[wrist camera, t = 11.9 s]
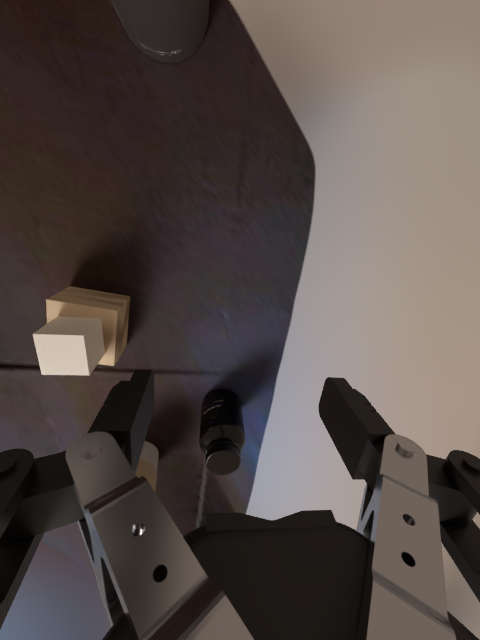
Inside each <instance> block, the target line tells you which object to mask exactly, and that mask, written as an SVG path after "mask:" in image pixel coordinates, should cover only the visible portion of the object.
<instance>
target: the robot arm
mask: <svg viewBox="0 0 480 640" xmlns="http://www.w3.org/2000/svg"><path fill="white" fill-rule="evenodd" d="M111 2H112V4H113V6H114V8H115V10H116V12H117V14H118V16H119V18H120V20H121V22H122V25H123V27H124V28H125V30H126V32H127V34H128V36H129V38H130V39H131V40H132V41H133V43H134V44H135V45H136V47H137V48H139V49H140V50H141V51H142V52H143V53H144V54H145V55H147V56H149V57H150V58H152V59H154V60H157V61H160V62H163V63H175V62H180V61H183V60H184V59H186V58H188V57H190V56H191V55H192V54H193V53H194V52H195V51H196V50H197V49H198V47H199V46H200V44H201V43H202V41H203V38H204V36H205V33H206V30H207V26H208V21H209V0H111ZM153 408H154V371H153V370H135V371H134V374H133V376H132V378H131V380H130V381H120V382H119V383H118V384H117V385H115V386H114V387H113V388H112V389H111V391H110V393H109V395H108V397H107V399H106V400H105V402H104V404H103V406H102V408H101V409H100V411H99V413H98V415H97V417H96V419H95V420H94V422H93V424H92V426H91V428H90V430H89V431H88V433H87V434H85V435H83V436H81V437H79V438H78V439H76V440H75V441H74V442H73V443H71V445H70V446H69V447H68V449H67V450H66V451H63V452H61V453H57V454H53V455H49V456H45V457H40V458H36V459H34V457H33V454H32V453H31V452H30V451H28V450H26V449H11V450H7V451H4V452H1V453H0V629H1V627H2V624H3V622H4V620H5V618H6V616H7V613H8V611H9V609H10V607H11V605H12V602H13V600H14V598H15V596H16V593H17V591H18V589H19V587H20V585H21V583H22V580H23V578H24V576H25V574H26V572H27V569H28V567H29V565H30V563H31V560H32V558H33V556H34V554H35V552H36V549H37V547H38V545H39V543H40V541H41V538H42V536H43V534H44V532H47V531H50V530H52V529H55V528H58V527H61V526H64V525H67V524H70V523H73V522H76V521H77V522H78V525H79V528H80V531H81V534H82V536H83V539H84V542H85V545H86V548H87V551H88V554H89V557H90V560H91V563H92V565H93V568H94V572H95V575H96V578H97V582H98V586H99V590H100V594H101V597H102V600H103V604H104V607H105V610H106V612H107V615H108V618H109V621H110V624H111V628H110V630H109V631H108V632H107V634H106V635H105V637H104V638H103V639H102V640H479V639H478V638H477V637H475V636H474V634H473V633H471V632H470V631H469V630H468V629H467V628H466V627H465V626H464V625H463V624H461V623H460V622H459V621H458V620H457V619H456V618H455V617H454V616H452V615H451V614H450V613H449V612H448V611H447V605H446V593H445V581H444V570H443V558H442V547H441V542H442V544H443V545H444V547H445V548H446V550H447V551H448V553H449V555H450V556H451V558H452V559H453V561H454V563H455V564H456V566H457V567H458V569H459V570H460V572H461V574H462V575H463V577H464V578H465V580H466V581H467V583H468V584H469V586H470V588H471V589H472V591H473V592H474V594H475V596H476V597H477V599H478V600H479V602H480V529H479V528H478V527H477V525H476V524H475V523H474V522H473V520H472V519H473V518H474V516H475V515H476V513H477V512H478V513H479V514H480V459H479V458H477V457H476V456H473V455H471V454H469V453H467V452H464V451H459V450H454V451H451V452H450V453H449V455H448V456H447V458H446V459H442V458H438V457H434V456H430V455H426V454H425V452H424V451H423V449H422V448H421V447H420V446H419V445H417V444H416V443H415V442H413V441H412V440H410V439H408V438H406V437H403V436H400V435H396V434H395V433H394V432H393V430H392V429H391V428H390V427H389V426H388V424H387V423H386V422H385V421H384V419H383V418H382V417H381V416H380V415H379V413H378V412H376V410H375V408H374V407H373V406H371V403H370V402H369V401H368V400H367V399H366V397H365V396H364V395H362V394H361V393H360V392H358V391H357V390H356V389H352V387H351V386H350V385H349V383H348V382H347V381H346V380H345V379H344V378H330V377H328V378H327V379H326V380H325V383H324V387H323V391H322V395H321V398H320V402H319V414H320V417H321V419H322V421H323V423H324V425H325V427H326V429H327V431H328V433H329V435H330V436H331V438H332V440H333V442H334V444H335V446H336V448H337V450H338V452H339V453H340V456H341V457H342V459H343V462H344V463H345V465H346V467H347V469H348V471H349V473H350V475H351V477H352V479H365V481H366V483H367V484H366V487H365V490H364V494H363V500H362V505H361V510H360V516H359V521H358V525H357V530H354V529H352V528H350V527H348V526H346V525H343V524H341V523H338V522H336V521H335V518H334V516H333V513H332V511H331V510H318V511H316V510H315V511H300V512H297V513H294V514H292V515H289V516H286V517H283V518H280V519H277V520H273V521H271V520H266V519H262V518H258V517H254V516H250V515H246V514H242V513H214V514H206V524H205V526H202V527H199V528H197V529H195V530H193V531H191V532H189V533H188V534H186V535H185V536H182V535H181V533H180V531H179V530H178V528H177V527H176V525H175V523H174V522H173V520H172V519H171V517H170V515H169V514H168V512H167V511H166V509H165V507H164V506H163V504H162V503H161V501H160V499H159V498H158V496H157V495H156V493H155V491H154V490H153V488H152V487H151V485H150V483H149V482H148V480H147V479H146V478H145V477H144V476H142V477H140V478H138V477H137V476H136V474H135V473H136V469H137V466H138V462H139V459H140V455H141V452H142V448H143V445H144V441H145V438H146V434H147V431H148V427H149V424H150V420H151V417H152V413H153Z"/></svg>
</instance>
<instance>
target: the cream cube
mask: <svg viewBox="0 0 480 640" xmlns="http://www.w3.org/2000/svg"><path fill="white" fill-rule="evenodd" d="M33 337H34V342H35V347H36V351H37V356H38V360H39V365H40V369H41V374H42V375H90V374H91V372H92V371H93V370H94V368H95V367H96V365H97V364H98V363H99V361H100V360H101V359H102V357H103V356H104V354H105V349H104V340H103V331H102V323H101V318H84V317H56V318H55V319H53V320H52V321H50V322H49V323H48V324H46V325H45V326H43V327H42V328H41V329H39V330H38V331H36V332H35V333H33Z"/></svg>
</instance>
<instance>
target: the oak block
mask: <svg viewBox="0 0 480 640" xmlns="http://www.w3.org/2000/svg"><path fill="white" fill-rule="evenodd" d="M46 306H47V324H48V323H49V322H50V321H52V320H53V319H55V318H56V317H84V318H101V323H102V331H103V340H104V349H105V354H104V356H103V357H102V359H101V360H100V361H99V363H98V364H103V365H111V366H114V365H115V364H116V362H117V360H118V359H119V357H120V356H121V354H122V352H123V351H124V349H125V347H126V346H127V334H128V321H129V307H130V296H125V295H119V294H113V293H108V292H102V291H96V290H90V289H84V288H78V287H72V286H69V287H67V288H66V289H64V290H62V291H60V292H59V293H57V294H55V295H53V296H51V297H50V298H48V299H46Z"/></svg>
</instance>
